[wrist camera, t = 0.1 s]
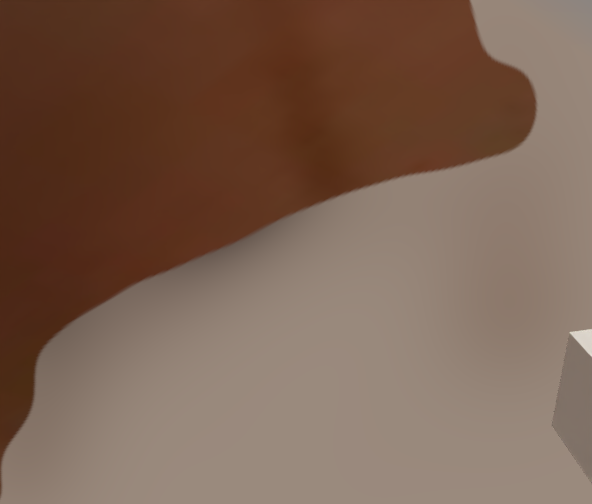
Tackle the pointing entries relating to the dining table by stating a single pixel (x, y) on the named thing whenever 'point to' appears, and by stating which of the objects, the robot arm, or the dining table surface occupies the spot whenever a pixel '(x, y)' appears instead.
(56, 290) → the dining table surface
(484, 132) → the dining table surface
